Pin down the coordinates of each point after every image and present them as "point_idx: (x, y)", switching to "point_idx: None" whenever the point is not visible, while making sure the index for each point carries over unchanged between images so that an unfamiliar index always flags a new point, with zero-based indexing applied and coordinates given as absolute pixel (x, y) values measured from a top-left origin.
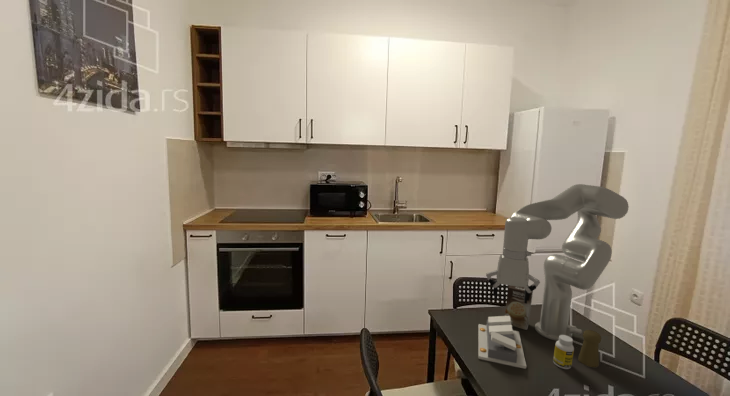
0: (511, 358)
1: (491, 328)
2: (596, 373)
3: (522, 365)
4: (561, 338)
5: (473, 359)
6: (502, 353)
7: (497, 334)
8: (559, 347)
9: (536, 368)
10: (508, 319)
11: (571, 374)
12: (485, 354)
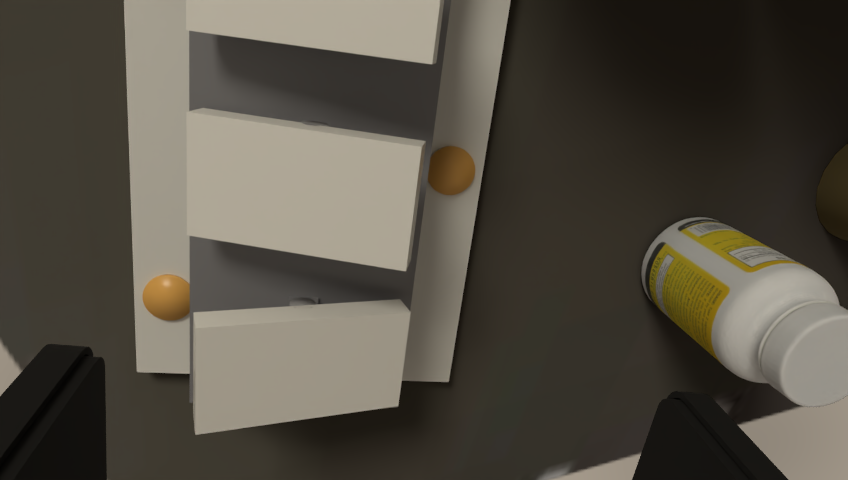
0: None
1: (211, 175)
2: (839, 293)
3: (426, 380)
4: (787, 383)
5: (109, 376)
6: None
7: (251, 346)
8: (724, 361)
9: (511, 347)
10: (414, 13)
11: (692, 342)
12: (187, 341)
